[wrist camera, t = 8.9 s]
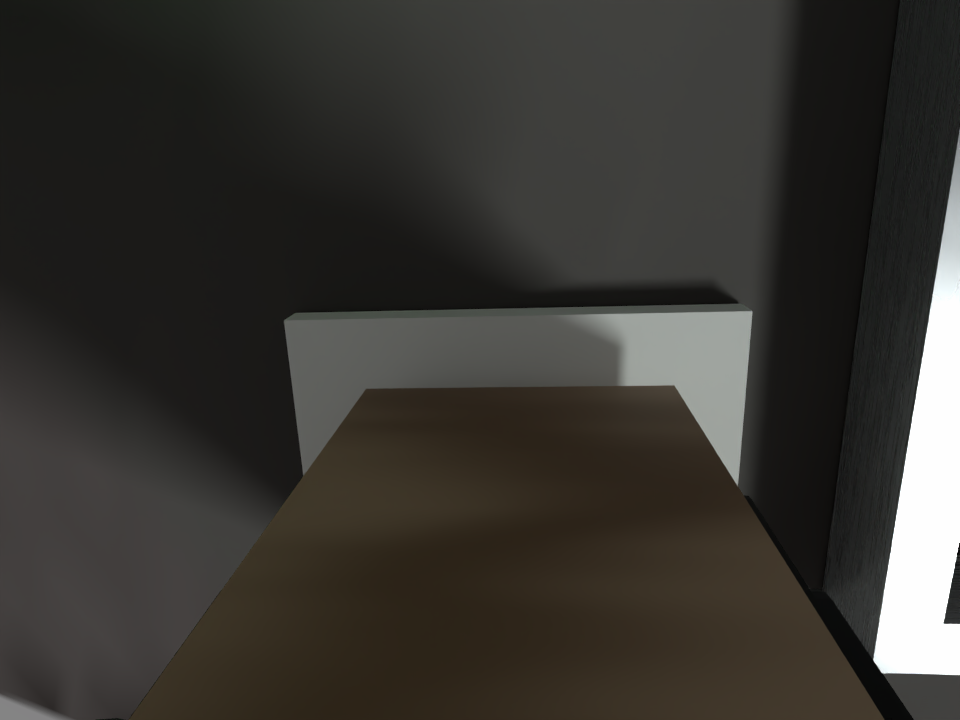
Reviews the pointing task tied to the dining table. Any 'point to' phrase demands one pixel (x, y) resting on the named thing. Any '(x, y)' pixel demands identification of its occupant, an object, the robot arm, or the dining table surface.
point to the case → (907, 372)
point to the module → (513, 576)
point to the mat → (522, 358)
